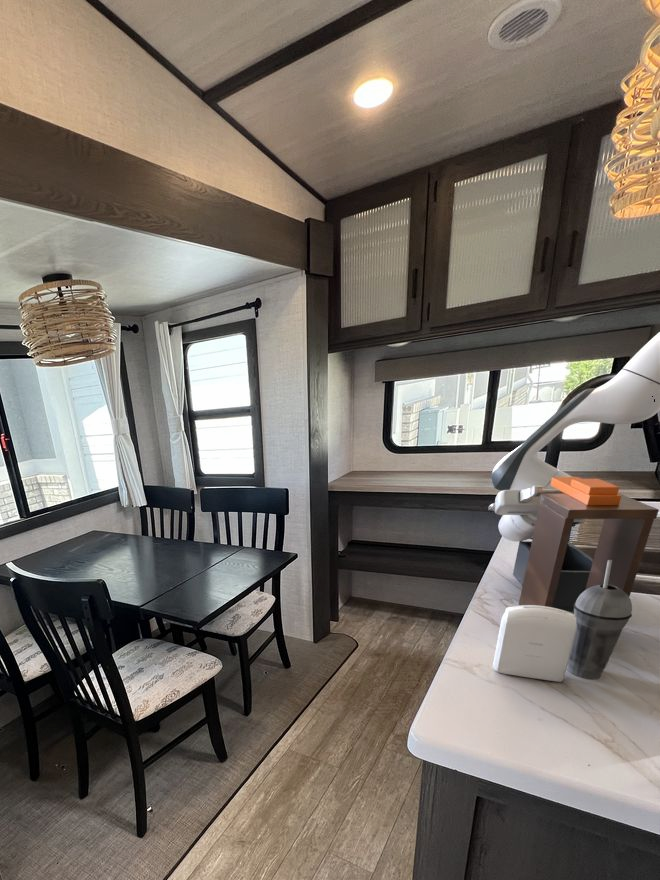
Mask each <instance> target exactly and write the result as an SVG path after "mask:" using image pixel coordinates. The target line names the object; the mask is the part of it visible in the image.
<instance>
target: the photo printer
mask: <svg viewBox="0 0 660 880" xmlns="http://www.w3.org/2000/svg"><path fill="white" fill-rule="evenodd" d="M498 630H499V631H498V636H497V641H496V647H495V651H494V656H493V657H494V658H493V662H492V668H493V670H494V671H495V672H496V673H499V674H500V673H501V674H505V675H511V676H517V677H523V678H530V679H537V680H543V681H549V682H560V683H561V682H562V681H563V680H564V679H565V676H566V672H567V670H568V669H567V667H568V661H569V658H570V654H571V650H572V646H573V642H574V638H575V634H576V631H577V623H576V617H575V614H574V613H572V612H571V611H564V610H561V609H557V608H552V607H546V606H536V605H523V606H518V605H515V606H509V607H506V608H505V611H504V613H503V615H502V617H501V619H500V625H499V629H498Z"/></svg>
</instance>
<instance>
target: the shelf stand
mask: <svg viewBox="0 0 660 880" xmlns="http://www.w3.org/2000/svg"><path fill="white" fill-rule="evenodd" d="M618 494H619V495H621V496H622V497H621V500H620V504H619V505H586V504H584V503H582V502H580V501H578V500H577V499H575V498H573V497H571V496H569V495H567V494H541V497H540V502H541V503H540V507H539V511H538V516H537V521H536V525H535V530H534V535H533V537H532V538H531V539H532V544H531V549H530V553H529V558H528V563H527V567H526V572H525V576H524V581H523V586H522V585H521V591H520V596H519V599H518V604H517V606H523V605H536V606H546V607H552V606H553V601H554V597H555V593H556V589H557V585H558V581H559V577H560V573H561V569H562V565H563V561H564V557H565V553H566V549H567V545H568V542H570V536H571V534H572V533H571V532H572V528H573V526H574V525H573V521H574V519H586V520H595V519H596V520H602V519H603V523H602V528H601V531H600V534H599V538H598V541H597V545H596V549H595V552H594V557H593V558H592V559H593V563H592V567H591V570H590V574H589V578H588V581H587V585H586V589H585V590H587V589H588V588H590V587H593V586H596V585H603V584H604V579H605V573H606V568H607V562H608V560H612V564H611V570H610V575H609V581H608V585H612V586H615V587H618V588H620V589H621V590H623V591H624V592H625V593H626V594H627V595H628V596H629V597H631V593H632V590H633V586H634V584H635V580H636V577H637V574H638V571H639V569H640V565H641V561H642V560H643V559H642V558H643V555H644V552H645V549H646V546H647V543H648V539H649V537H650V533H651V530H652V527H653V525H654V524H653V523H654V520H656V519H657V518H658V514H659V510H660V509H659V508H657V507H653V506H651V505H650V504H646V503H644V502H641V501H639V500H636V499H634V498H631V497H629V496H626V495H624V494H621V493H619V492H618Z"/></svg>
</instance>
